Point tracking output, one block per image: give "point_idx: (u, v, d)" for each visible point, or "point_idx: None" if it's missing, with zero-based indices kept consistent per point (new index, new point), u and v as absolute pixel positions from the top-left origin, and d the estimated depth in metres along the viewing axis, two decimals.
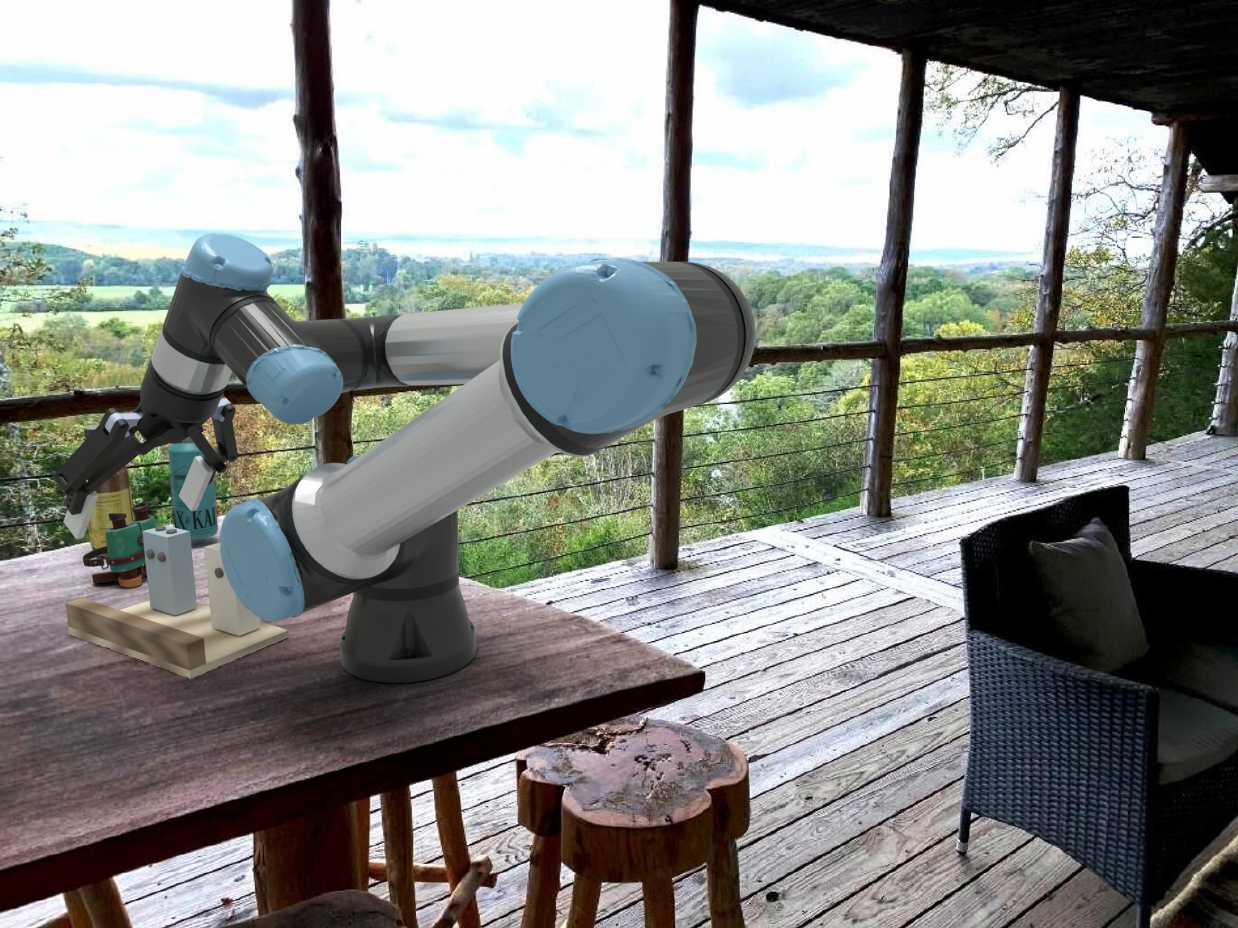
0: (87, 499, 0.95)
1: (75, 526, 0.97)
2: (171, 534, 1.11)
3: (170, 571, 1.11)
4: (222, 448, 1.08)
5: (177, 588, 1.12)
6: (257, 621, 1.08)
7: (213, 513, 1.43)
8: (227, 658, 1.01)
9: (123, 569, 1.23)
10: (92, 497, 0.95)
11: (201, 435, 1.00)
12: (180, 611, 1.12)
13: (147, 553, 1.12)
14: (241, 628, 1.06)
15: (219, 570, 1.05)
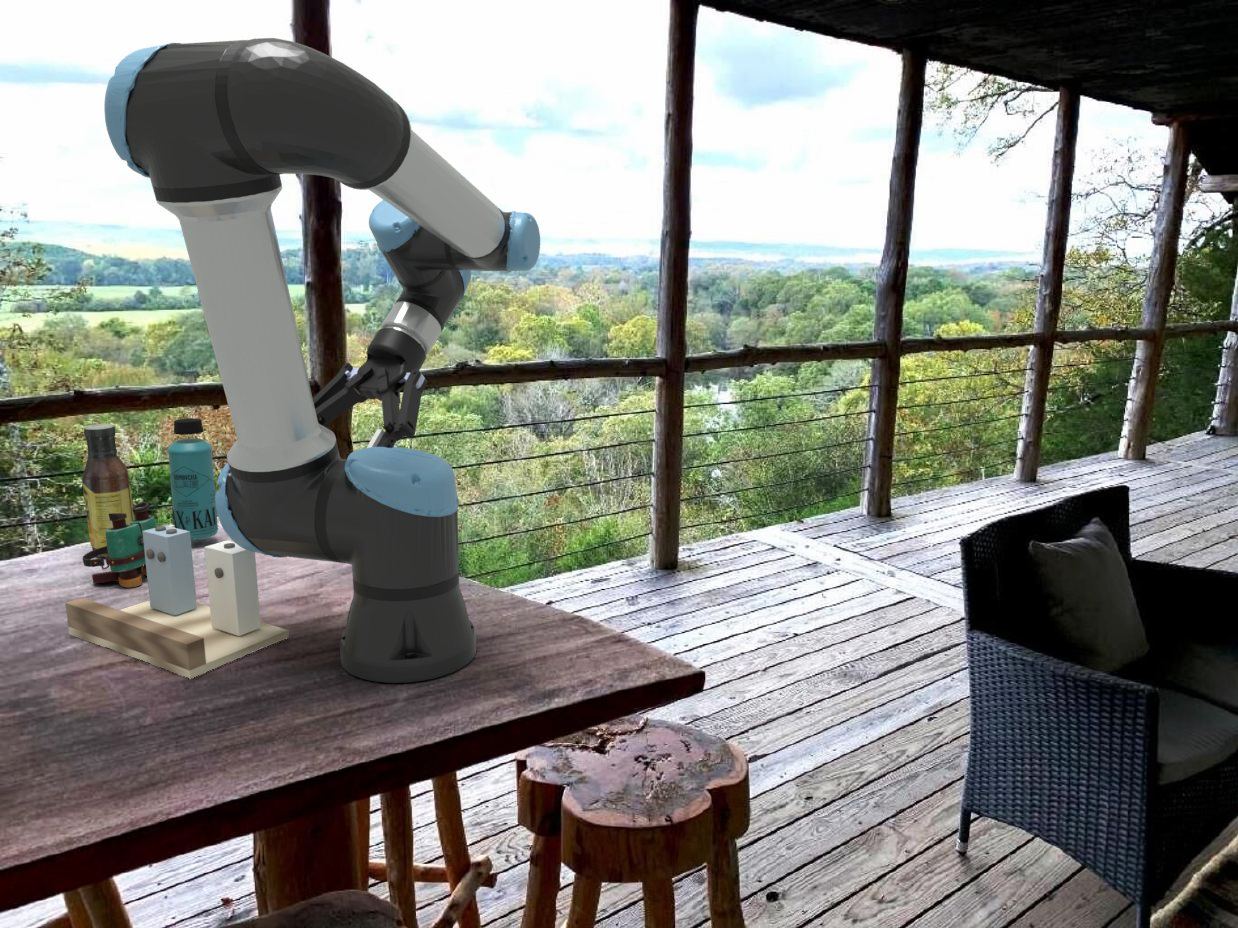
0: None
1: None
2: (171, 534, 1.11)
3: (170, 571, 1.11)
4: None
5: (177, 588, 1.12)
6: (257, 621, 1.08)
7: (213, 513, 1.43)
8: (227, 658, 1.01)
9: (123, 569, 1.23)
10: None
11: (385, 382, 1.21)
12: (180, 611, 1.12)
13: (147, 553, 1.12)
14: (241, 628, 1.06)
15: (219, 570, 1.05)
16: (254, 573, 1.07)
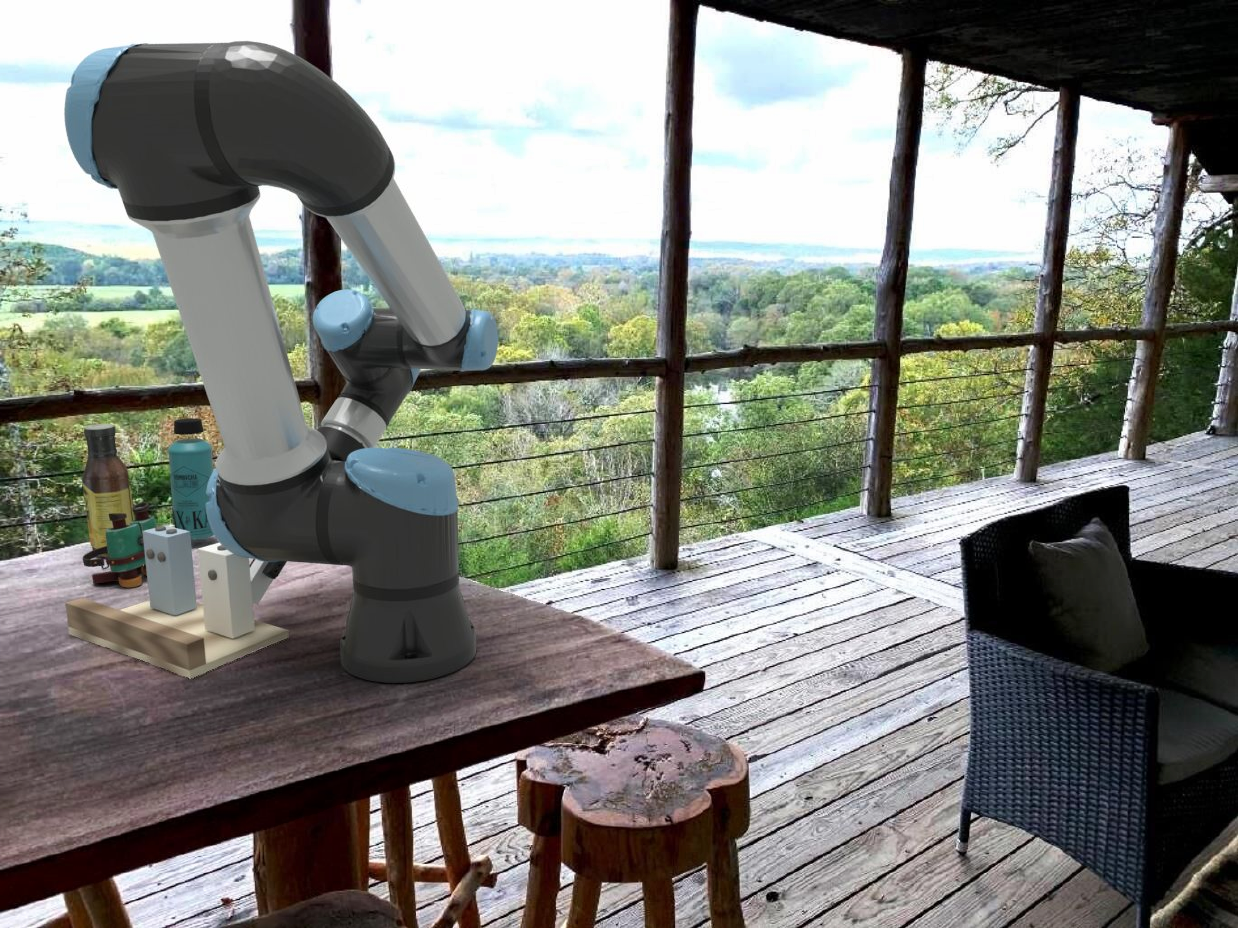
0: None
1: None
2: (171, 534, 1.11)
3: (170, 571, 1.11)
4: None
5: (177, 588, 1.12)
6: (251, 624, 1.07)
7: None
8: (227, 658, 1.01)
9: (123, 569, 1.23)
10: None
11: None
12: (180, 611, 1.12)
13: (147, 553, 1.12)
14: (235, 630, 1.05)
15: (212, 572, 1.04)
16: (248, 575, 1.06)
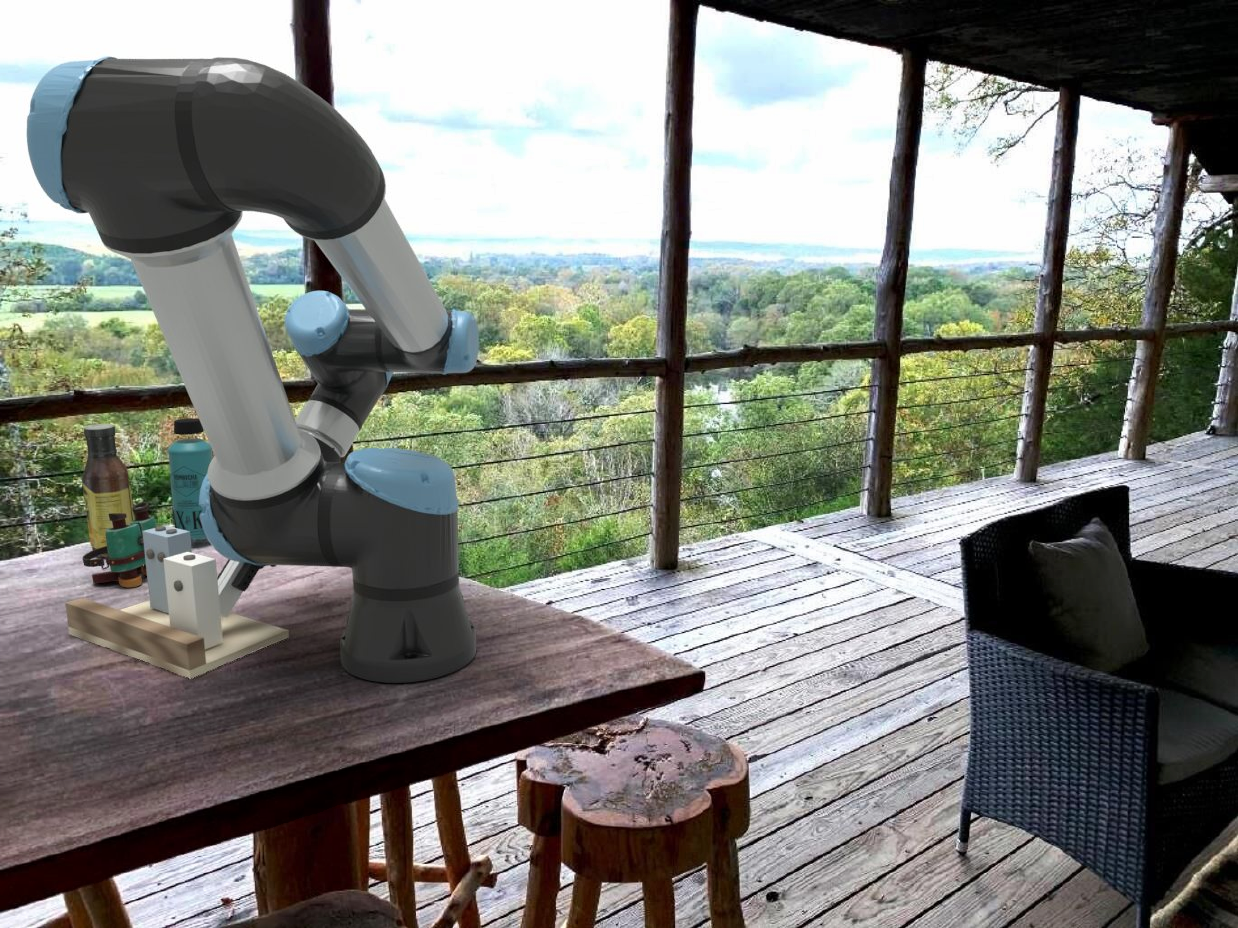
0: None
1: None
2: (171, 534, 1.11)
3: None
4: None
5: None
6: (219, 636, 1.04)
7: None
8: (227, 658, 1.01)
9: (123, 569, 1.23)
10: None
11: None
12: None
13: (147, 553, 1.12)
14: None
15: (178, 583, 1.01)
16: (215, 586, 1.02)
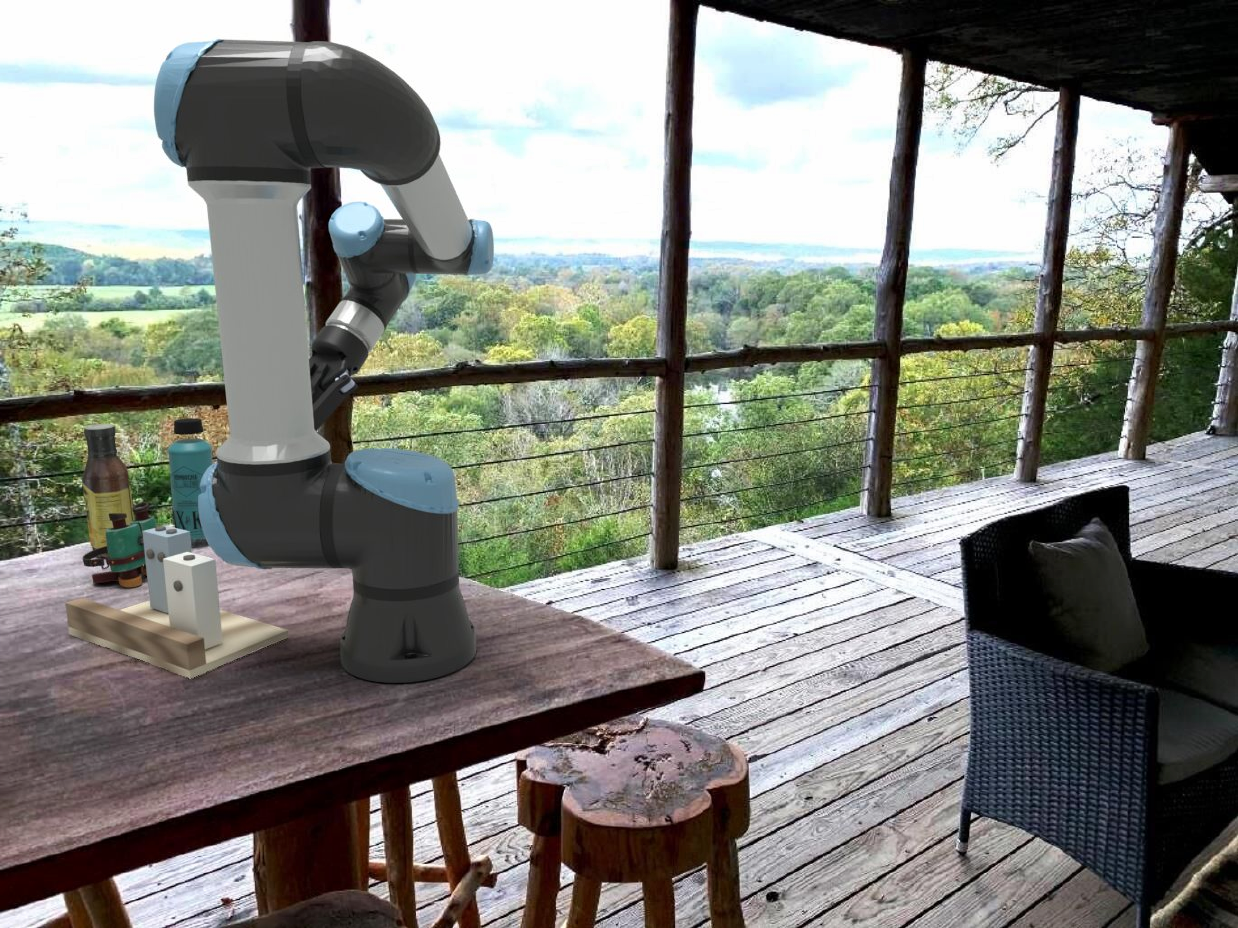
0: None
1: None
2: (171, 534, 1.11)
3: None
4: None
5: None
6: (219, 636, 1.04)
7: None
8: (227, 658, 1.01)
9: (123, 569, 1.23)
10: None
11: (317, 379, 1.28)
12: None
13: (147, 553, 1.12)
14: None
15: (178, 583, 1.01)
16: (215, 586, 1.02)
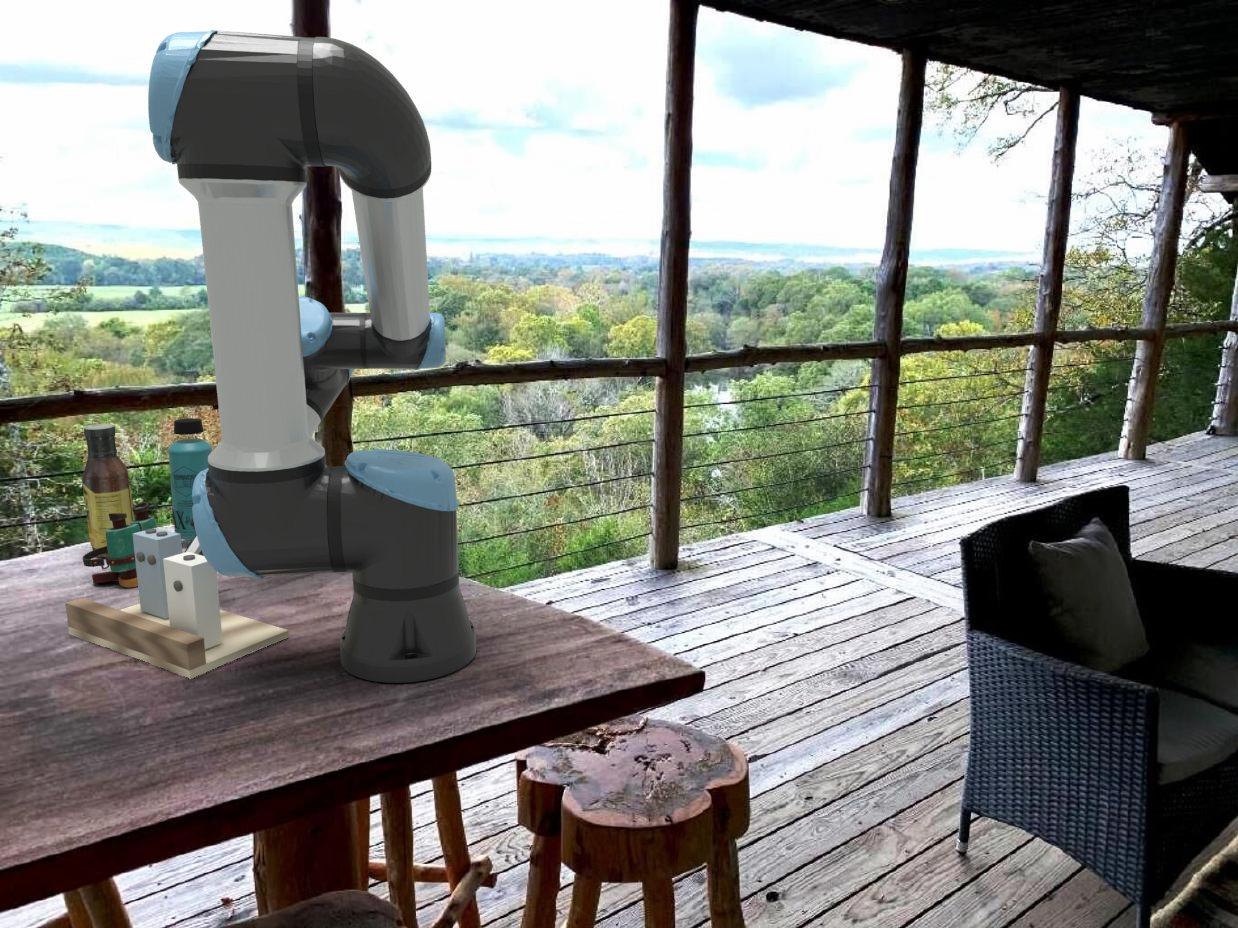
0: None
1: None
2: (161, 536, 1.10)
3: (160, 574, 1.10)
4: None
5: None
6: (219, 636, 1.04)
7: None
8: (227, 658, 1.01)
9: (123, 569, 1.23)
10: None
11: None
12: None
13: (137, 556, 1.11)
14: None
15: (178, 583, 1.01)
16: (215, 586, 1.02)
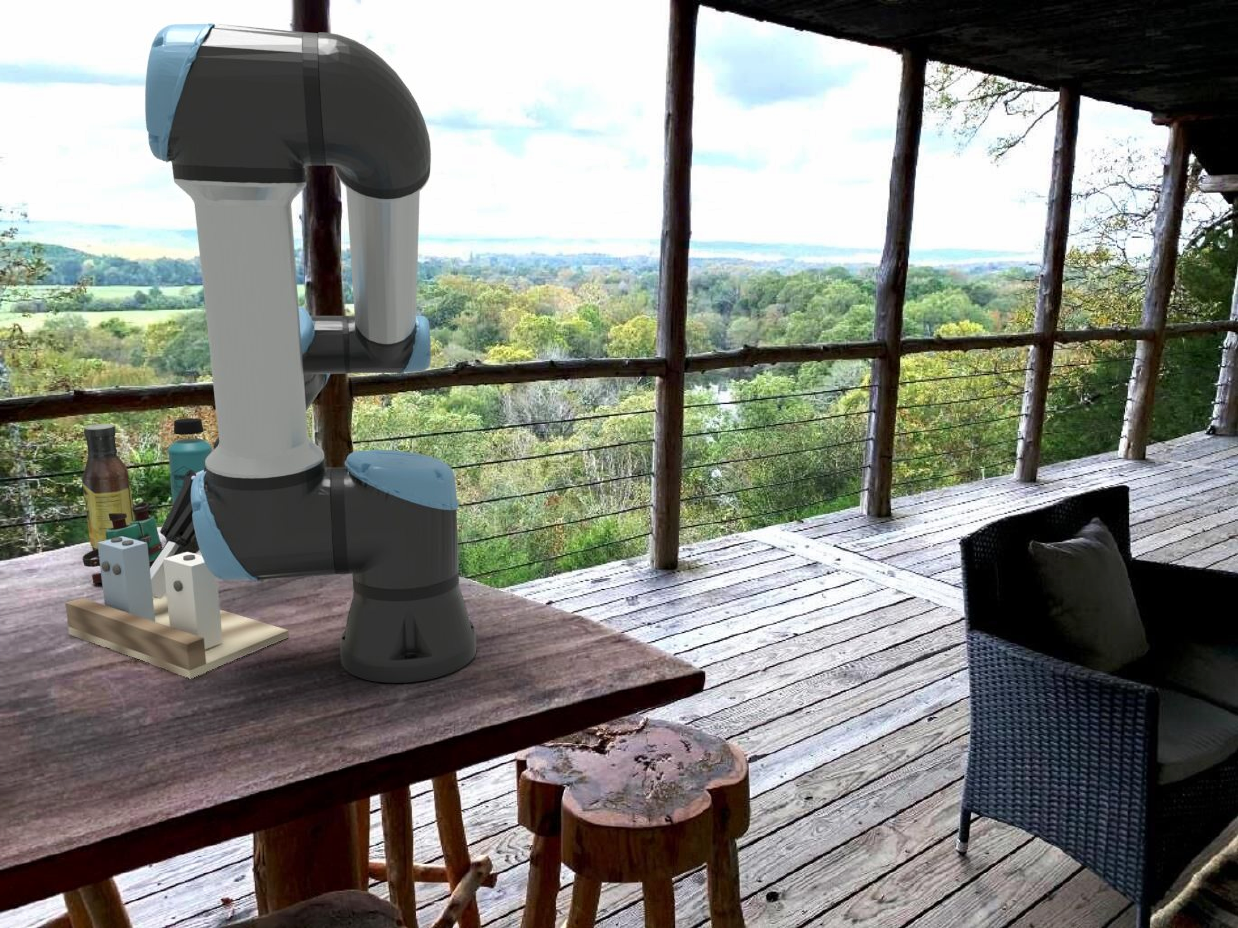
0: None
1: None
2: (127, 546, 1.06)
3: (125, 584, 1.06)
4: None
5: (134, 602, 1.07)
6: (219, 636, 1.04)
7: None
8: (227, 658, 1.01)
9: None
10: (168, 543, 1.14)
11: None
12: None
13: (102, 565, 1.07)
14: None
15: (178, 583, 1.01)
16: (215, 586, 1.02)
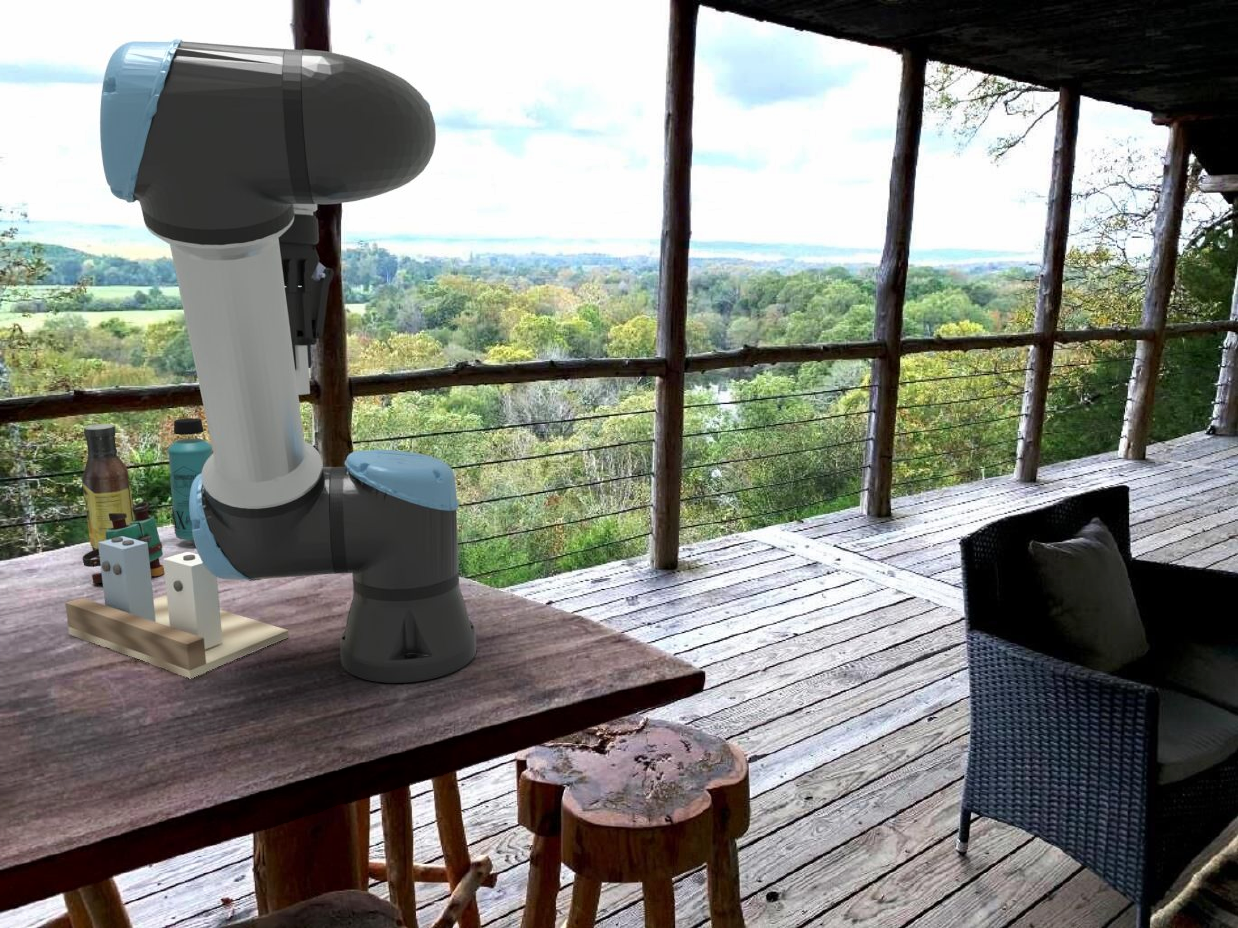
0: (296, 352, 1.21)
1: (296, 385, 1.22)
2: (127, 545, 1.06)
3: (126, 584, 1.06)
4: None
5: (134, 602, 1.07)
6: (219, 636, 1.04)
7: None
8: (227, 658, 1.01)
9: None
10: (299, 348, 1.21)
11: (310, 281, 1.21)
12: None
13: (103, 565, 1.07)
14: None
15: (178, 583, 1.01)
16: (215, 586, 1.02)
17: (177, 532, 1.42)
